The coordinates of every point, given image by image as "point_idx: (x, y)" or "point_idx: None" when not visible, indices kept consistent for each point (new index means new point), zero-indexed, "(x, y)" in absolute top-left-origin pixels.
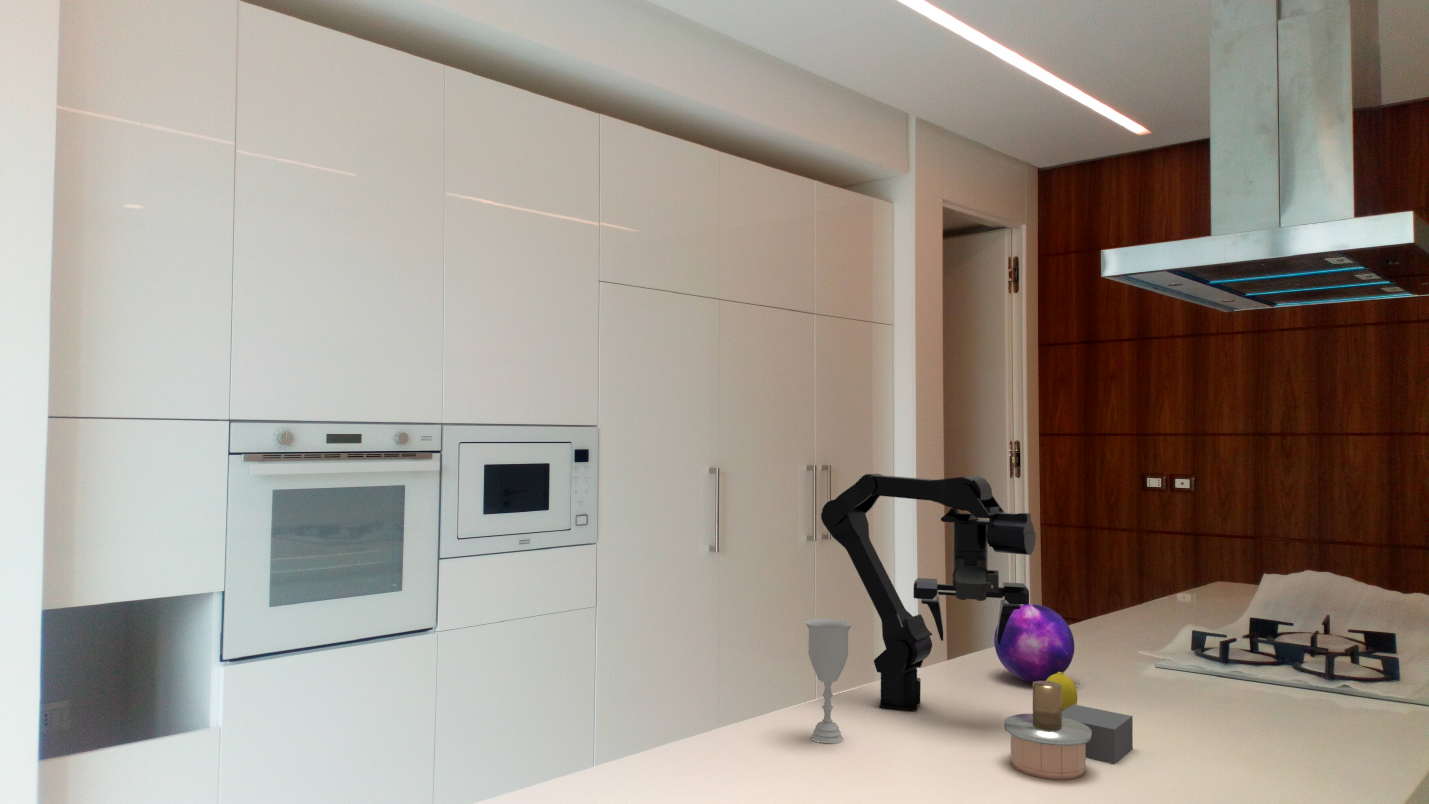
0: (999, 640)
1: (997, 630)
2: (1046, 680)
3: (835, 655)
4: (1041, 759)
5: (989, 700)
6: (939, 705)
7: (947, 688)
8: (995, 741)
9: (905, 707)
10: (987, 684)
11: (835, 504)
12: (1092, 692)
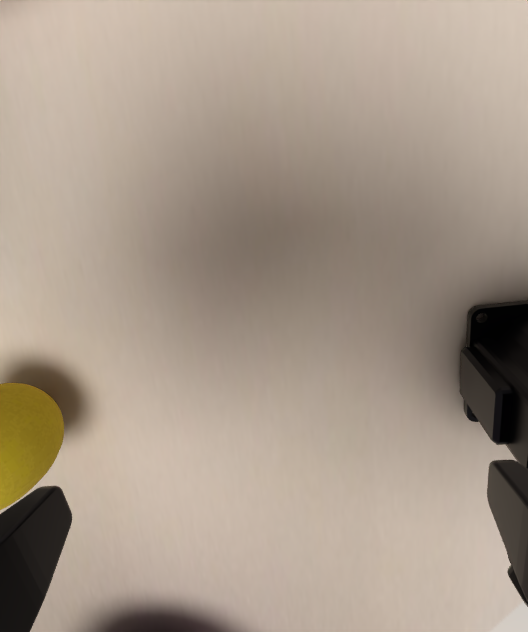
0: (21, 504)
1: (7, 616)
2: (5, 475)
3: None
4: None
5: (250, 494)
6: (390, 402)
7: (374, 558)
8: (166, 67)
9: (514, 305)
10: (272, 613)
11: None
12: None
